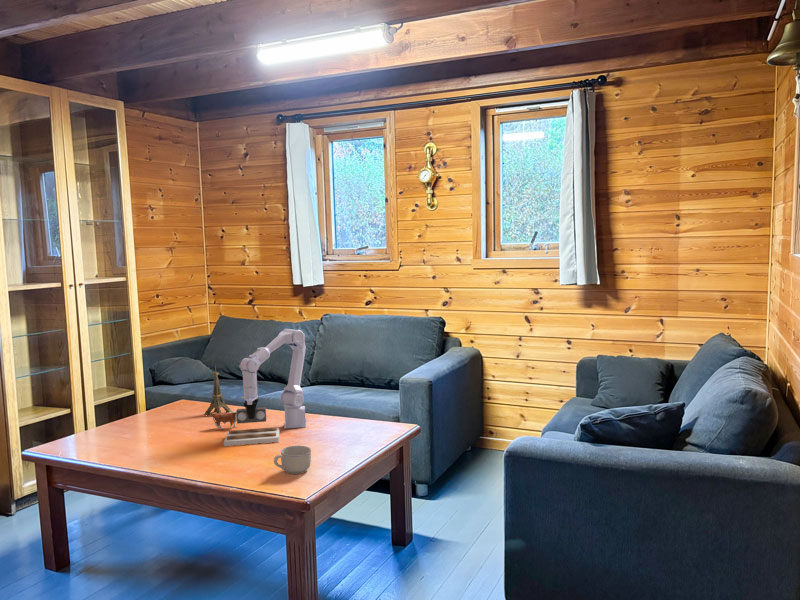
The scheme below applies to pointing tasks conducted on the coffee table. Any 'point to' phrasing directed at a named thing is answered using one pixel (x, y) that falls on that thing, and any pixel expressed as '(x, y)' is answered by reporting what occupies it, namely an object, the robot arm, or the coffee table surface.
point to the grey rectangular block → (259, 416)
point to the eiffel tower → (217, 398)
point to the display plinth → (252, 436)
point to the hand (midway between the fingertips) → (251, 417)
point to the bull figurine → (225, 418)
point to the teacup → (294, 459)
